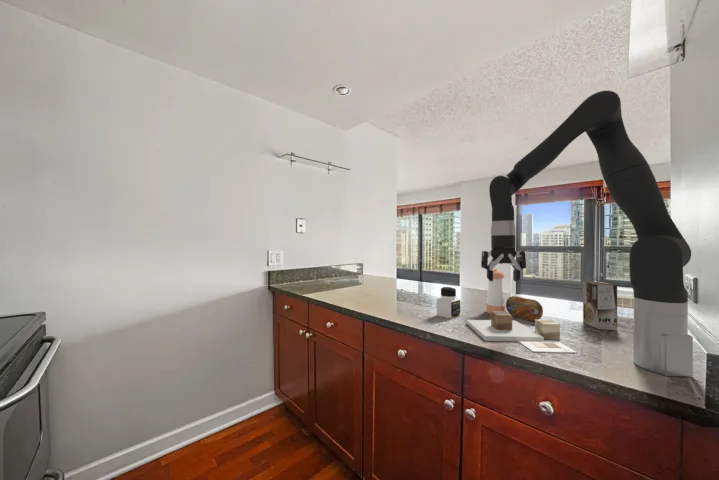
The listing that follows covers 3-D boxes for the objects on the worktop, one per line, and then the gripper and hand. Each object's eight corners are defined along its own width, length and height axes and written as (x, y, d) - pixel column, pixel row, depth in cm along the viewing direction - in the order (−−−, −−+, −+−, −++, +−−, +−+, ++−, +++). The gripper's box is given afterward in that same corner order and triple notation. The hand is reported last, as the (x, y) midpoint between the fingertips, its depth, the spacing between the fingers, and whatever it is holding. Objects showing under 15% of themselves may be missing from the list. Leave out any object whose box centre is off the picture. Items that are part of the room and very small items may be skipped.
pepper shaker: (493, 315, 118) (493, 270, 118) (482, 310, 125) (482, 268, 125) (508, 314, 120) (508, 269, 120) (496, 310, 127) (496, 268, 127)
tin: (505, 313, 121) (505, 294, 121) (510, 313, 122) (510, 294, 122) (538, 323, 106) (538, 301, 106) (544, 322, 108) (544, 301, 108)
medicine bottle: (451, 319, 113) (451, 289, 113) (436, 315, 118) (436, 287, 118) (460, 316, 117) (460, 287, 117) (445, 312, 123) (445, 285, 123)
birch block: (559, 339, 90) (559, 324, 90) (543, 339, 90) (543, 324, 90) (550, 334, 95) (550, 319, 95) (535, 334, 95) (535, 319, 95)
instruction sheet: (576, 353, 79) (576, 351, 79) (533, 352, 79) (533, 350, 79) (555, 341, 88) (555, 340, 88) (516, 340, 88) (516, 339, 88)
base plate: (543, 341, 88) (543, 337, 88) (485, 340, 88) (485, 336, 88) (514, 324, 106) (514, 320, 106) (466, 323, 106) (466, 319, 106)
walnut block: (512, 330, 94) (512, 315, 94) (497, 329, 95) (497, 315, 95) (505, 325, 99) (505, 311, 99) (491, 325, 100) (490, 311, 100)
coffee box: (618, 330, 98) (618, 284, 98) (597, 329, 99) (597, 284, 99) (601, 323, 107) (601, 281, 107) (582, 322, 108) (582, 280, 108)
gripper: (486, 234, 93) (487, 282, 93) (530, 233, 93) (530, 282, 92) (478, 234, 101) (478, 279, 101) (518, 234, 100) (518, 279, 100)
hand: (503, 280), depth 97 cm, fingers open, 8 cm apart
